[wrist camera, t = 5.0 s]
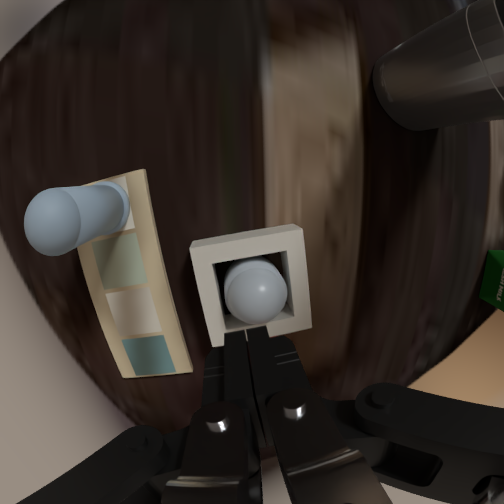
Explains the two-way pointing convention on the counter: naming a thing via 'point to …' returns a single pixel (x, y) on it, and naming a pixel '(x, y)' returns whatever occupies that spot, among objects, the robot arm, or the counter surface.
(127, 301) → the track
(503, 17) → the robot arm
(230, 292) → the light blue rounded piece
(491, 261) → the milk carton
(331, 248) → the counter surface
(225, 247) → the base
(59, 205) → the pawn
